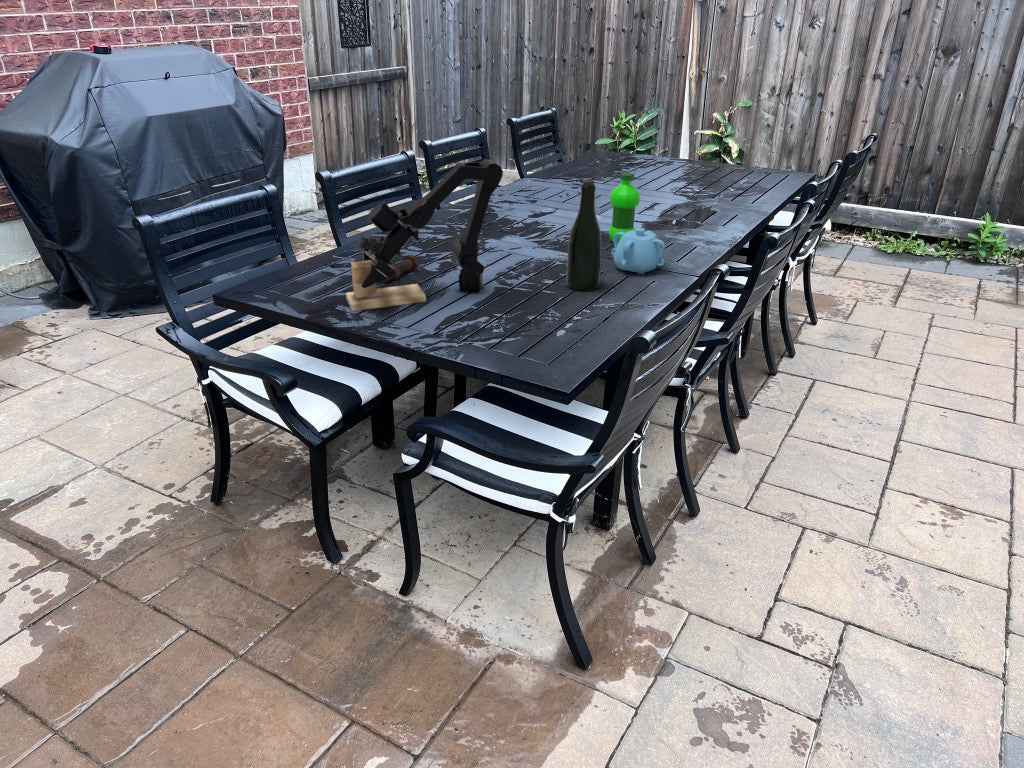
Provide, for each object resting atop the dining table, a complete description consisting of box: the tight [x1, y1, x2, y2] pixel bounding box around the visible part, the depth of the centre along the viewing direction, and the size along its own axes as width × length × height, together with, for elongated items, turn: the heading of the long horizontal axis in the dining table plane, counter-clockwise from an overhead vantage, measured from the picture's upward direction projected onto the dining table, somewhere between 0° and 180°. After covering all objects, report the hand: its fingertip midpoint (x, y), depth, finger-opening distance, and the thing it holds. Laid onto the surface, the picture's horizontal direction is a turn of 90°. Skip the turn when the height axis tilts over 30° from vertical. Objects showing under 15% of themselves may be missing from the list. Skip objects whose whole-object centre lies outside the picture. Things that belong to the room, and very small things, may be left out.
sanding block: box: [350, 260, 378, 301], centre depth 217 cm, size 6×5×10 cm
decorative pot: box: [610, 227, 666, 275], centre depth 246 cm, size 16×16×14 cm
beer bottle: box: [565, 179, 602, 292], centre depth 227 cm, size 10×10×33 cm
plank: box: [345, 283, 427, 312], centre depth 222 cm, size 22×10×2 cm, turn 111°
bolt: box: [382, 254, 420, 283], centre depth 239 cm, size 6×5×15 cm
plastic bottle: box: [608, 172, 641, 243], centre depth 267 cm, size 10×10×25 cm
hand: (359, 282), depth 217 cm, fingers open, 9 cm apart
